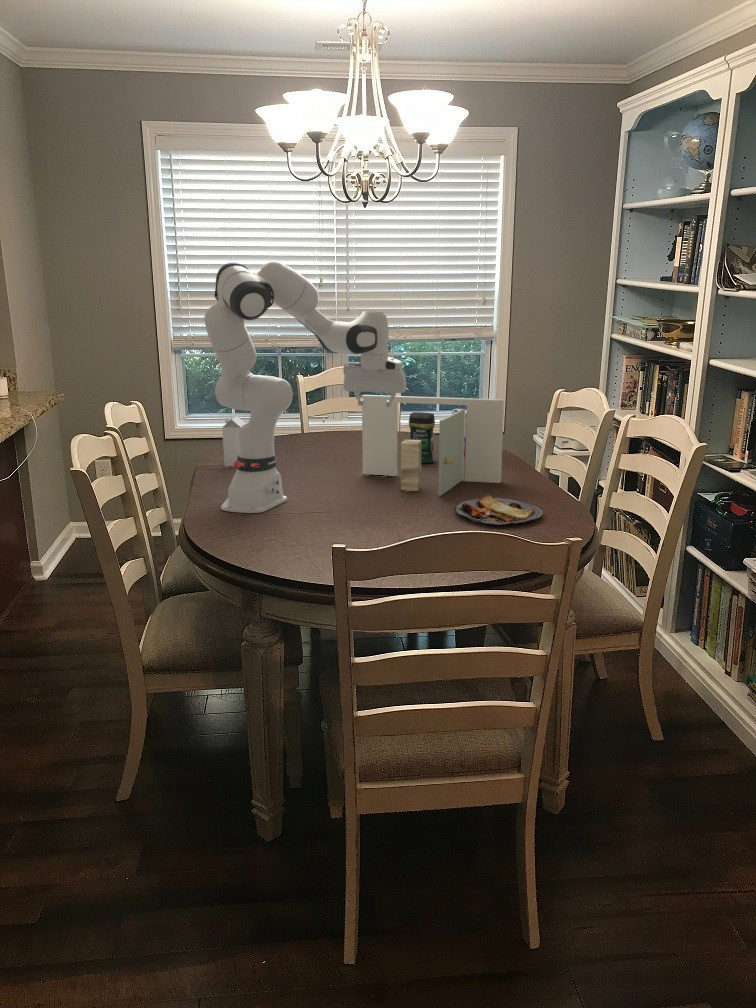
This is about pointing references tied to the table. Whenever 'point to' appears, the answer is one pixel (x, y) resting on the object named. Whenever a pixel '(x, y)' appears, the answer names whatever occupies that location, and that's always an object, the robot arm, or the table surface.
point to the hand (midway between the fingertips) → (374, 406)
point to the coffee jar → (423, 433)
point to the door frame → (481, 413)
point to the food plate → (497, 510)
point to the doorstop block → (411, 465)
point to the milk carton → (231, 439)
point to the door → (451, 451)
